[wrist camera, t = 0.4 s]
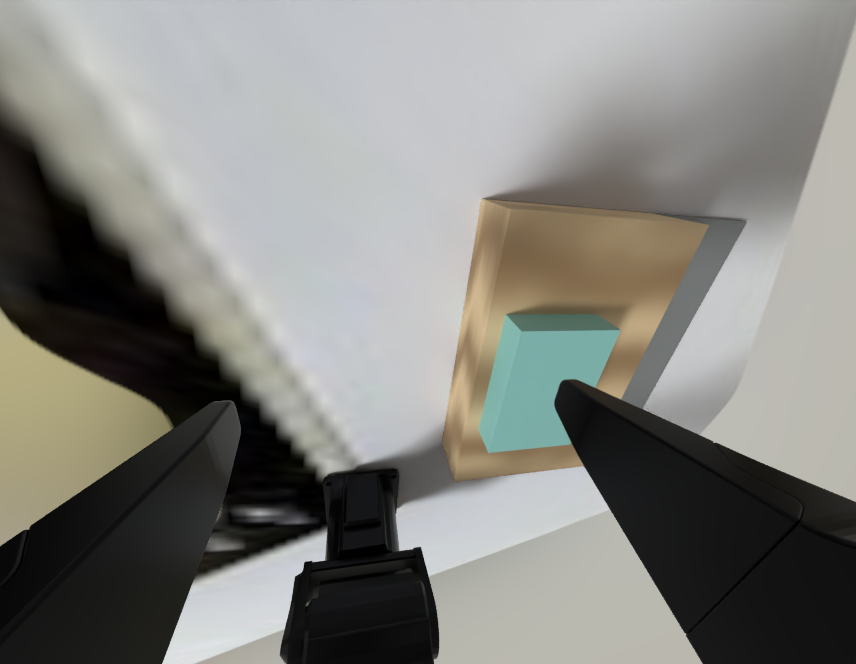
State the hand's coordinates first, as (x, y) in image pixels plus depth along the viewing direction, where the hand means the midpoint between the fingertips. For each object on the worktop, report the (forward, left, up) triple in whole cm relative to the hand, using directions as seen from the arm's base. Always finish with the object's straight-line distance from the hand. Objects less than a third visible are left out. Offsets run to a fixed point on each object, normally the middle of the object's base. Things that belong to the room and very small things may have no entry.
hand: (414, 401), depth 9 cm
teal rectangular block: (-6, -10, -8) cm, 14 cm away
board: (-6, -12, -12) cm, 18 cm away
